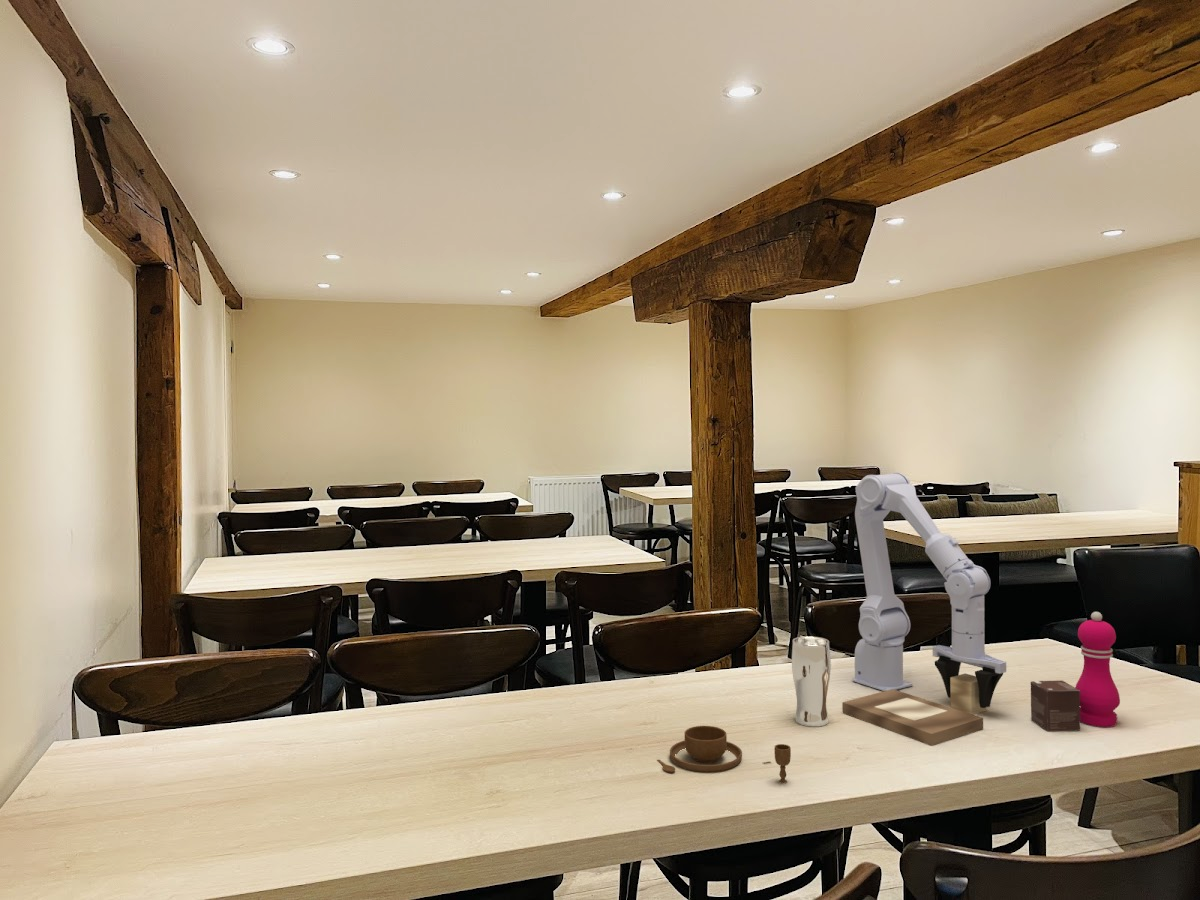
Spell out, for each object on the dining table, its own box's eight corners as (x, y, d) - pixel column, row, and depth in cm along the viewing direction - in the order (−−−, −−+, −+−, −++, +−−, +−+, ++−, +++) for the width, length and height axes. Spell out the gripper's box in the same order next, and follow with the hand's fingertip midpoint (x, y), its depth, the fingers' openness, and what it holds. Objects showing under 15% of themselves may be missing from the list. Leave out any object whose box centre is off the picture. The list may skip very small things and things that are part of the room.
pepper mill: (1126, 729, 152) (1126, 616, 151) (1081, 727, 153) (1081, 615, 153) (1111, 715, 159) (1110, 608, 158) (1068, 713, 160) (1068, 607, 160)
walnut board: (842, 712, 163) (842, 701, 163) (892, 699, 171) (892, 688, 171) (931, 745, 146) (931, 732, 146) (983, 728, 154) (983, 716, 153)
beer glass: (827, 714, 162) (827, 636, 162) (834, 728, 155) (833, 645, 155) (790, 714, 163) (789, 635, 163) (794, 727, 156) (793, 645, 156)
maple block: (950, 708, 165) (950, 677, 165) (965, 704, 167) (965, 673, 167) (971, 715, 161) (971, 683, 161) (986, 710, 163) (986, 679, 163)
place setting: (737, 741, 151) (736, 708, 151) (799, 786, 133) (798, 748, 132) (644, 756, 146) (644, 721, 146) (695, 805, 127) (694, 765, 127)
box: (1081, 731, 152) (1081, 690, 151) (1046, 732, 152) (1046, 690, 151) (1063, 719, 158) (1063, 679, 157) (1029, 720, 158) (1029, 680, 157)
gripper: (1016, 635, 159) (1016, 708, 160) (948, 620, 172) (949, 688, 172) (992, 641, 156) (993, 715, 156) (925, 625, 168) (925, 694, 169)
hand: (968, 701), depth 164 cm, fingers open, 6 cm apart
